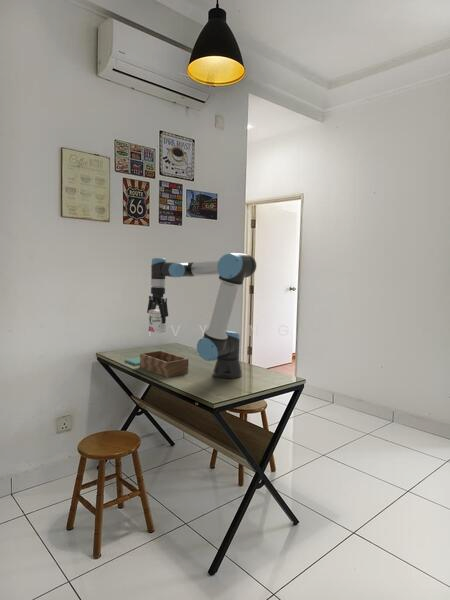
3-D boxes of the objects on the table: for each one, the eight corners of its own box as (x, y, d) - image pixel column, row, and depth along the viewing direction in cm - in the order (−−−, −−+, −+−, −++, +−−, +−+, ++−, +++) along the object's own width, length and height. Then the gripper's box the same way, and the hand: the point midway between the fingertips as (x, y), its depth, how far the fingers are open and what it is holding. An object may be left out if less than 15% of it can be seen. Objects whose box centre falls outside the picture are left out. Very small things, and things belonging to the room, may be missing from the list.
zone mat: (154, 362, 241) (154, 360, 241) (135, 365, 233) (135, 363, 233) (143, 358, 250) (143, 356, 250) (125, 361, 242) (125, 359, 242)
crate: (188, 372, 221) (188, 358, 220) (166, 377, 211) (167, 362, 211) (160, 363, 239) (160, 350, 239) (140, 367, 230) (140, 353, 229)
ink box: (147, 331, 227) (148, 309, 226) (153, 330, 232) (153, 308, 231) (160, 333, 223) (161, 311, 222) (166, 331, 228) (166, 310, 227)
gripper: (175, 288, 220) (174, 330, 222) (152, 285, 236) (151, 324, 238) (164, 288, 215) (163, 331, 217) (141, 285, 231) (140, 325, 233)
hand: (157, 327), depth 227 cm, fingers closed on ink box, 9 cm apart
